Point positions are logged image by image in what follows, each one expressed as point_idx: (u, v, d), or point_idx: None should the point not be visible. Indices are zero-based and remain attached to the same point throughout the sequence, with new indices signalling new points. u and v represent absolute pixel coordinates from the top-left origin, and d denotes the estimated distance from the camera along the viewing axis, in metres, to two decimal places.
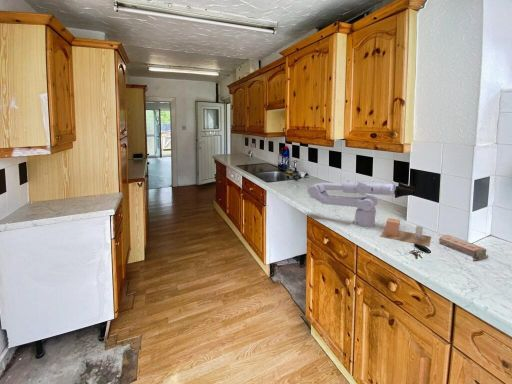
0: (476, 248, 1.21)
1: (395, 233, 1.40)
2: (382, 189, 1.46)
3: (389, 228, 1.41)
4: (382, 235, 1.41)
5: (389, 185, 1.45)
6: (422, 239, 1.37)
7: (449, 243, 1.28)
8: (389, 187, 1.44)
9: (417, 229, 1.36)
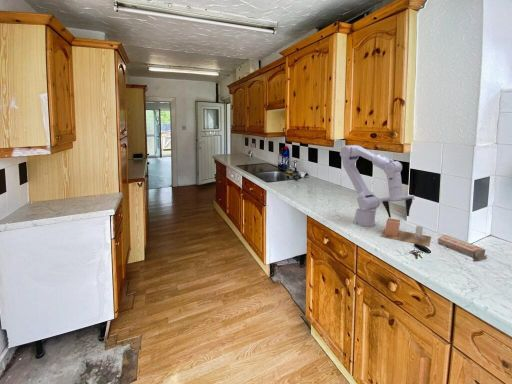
0: (475, 248, 1.21)
1: (395, 233, 1.40)
2: None
3: (389, 228, 1.41)
4: (382, 235, 1.41)
5: (392, 195, 1.39)
6: (422, 239, 1.37)
7: (448, 243, 1.28)
8: (390, 195, 1.40)
9: (417, 229, 1.36)
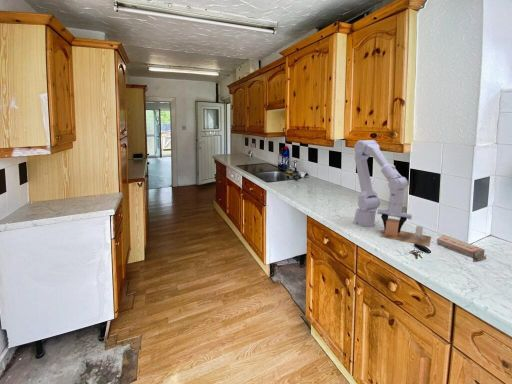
0: (475, 248, 1.21)
1: (395, 233, 1.40)
2: None
3: (389, 228, 1.41)
4: (382, 235, 1.41)
5: (390, 210, 1.40)
6: (422, 239, 1.37)
7: (448, 244, 1.28)
8: (388, 210, 1.41)
9: (417, 229, 1.36)
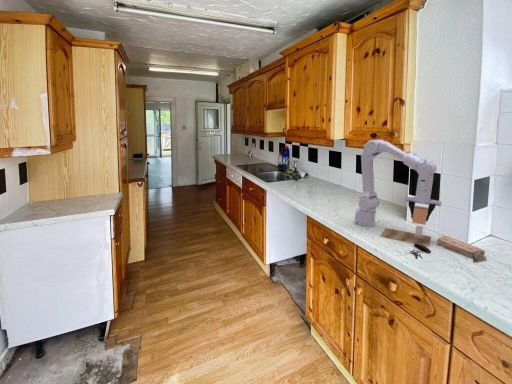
0: (474, 249, 1.20)
1: (423, 221, 1.33)
2: None
3: (416, 215, 1.34)
4: (382, 235, 1.41)
5: (418, 197, 1.32)
6: (422, 239, 1.37)
7: (447, 244, 1.27)
8: (416, 197, 1.33)
9: (417, 229, 1.36)
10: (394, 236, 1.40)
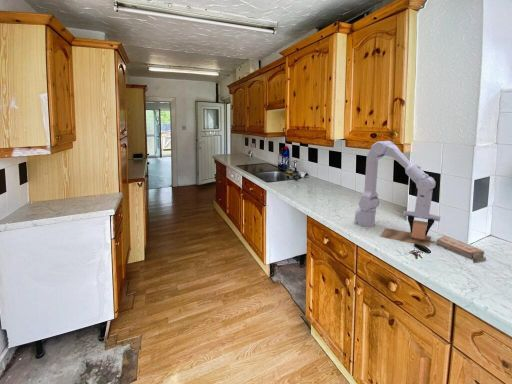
0: (474, 249, 1.20)
1: (422, 236, 1.34)
2: None
3: (415, 230, 1.35)
4: (382, 235, 1.41)
5: (417, 212, 1.34)
6: (422, 239, 1.37)
7: (447, 244, 1.27)
8: (415, 211, 1.35)
9: None
10: (394, 236, 1.40)
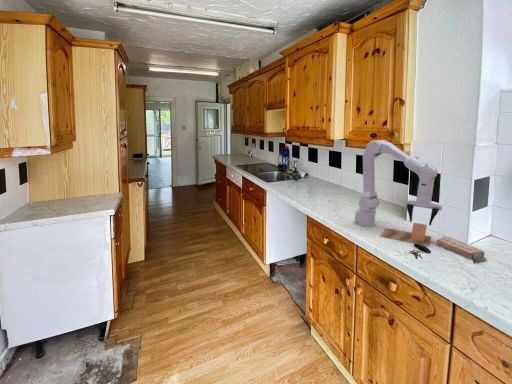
0: (474, 250, 1.19)
1: (422, 238, 1.34)
2: (417, 193, 1.34)
3: (415, 233, 1.35)
4: (382, 235, 1.41)
5: (419, 201, 1.32)
6: None
7: (447, 245, 1.26)
8: (417, 201, 1.34)
9: None
10: (394, 236, 1.40)
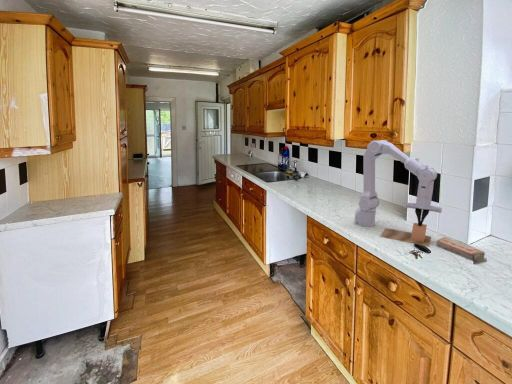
0: (474, 250, 1.19)
1: (422, 238, 1.34)
2: (417, 196, 1.34)
3: (415, 233, 1.35)
4: (382, 235, 1.41)
5: (418, 203, 1.33)
6: None
7: (447, 245, 1.26)
8: (416, 203, 1.34)
9: None
10: (394, 236, 1.40)
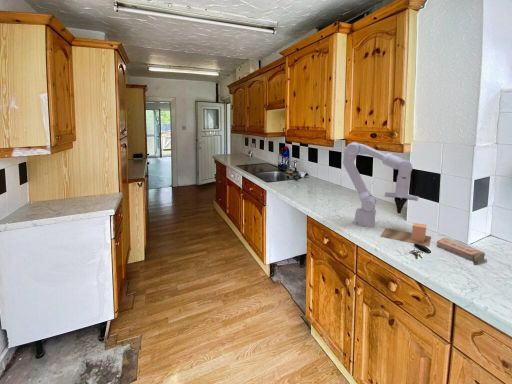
0: (474, 251, 1.18)
1: (422, 238, 1.34)
2: (396, 186, 1.46)
3: (415, 233, 1.35)
4: (382, 235, 1.41)
5: (397, 192, 1.45)
6: None
7: (447, 246, 1.25)
8: (395, 192, 1.46)
9: None
10: (394, 236, 1.40)
